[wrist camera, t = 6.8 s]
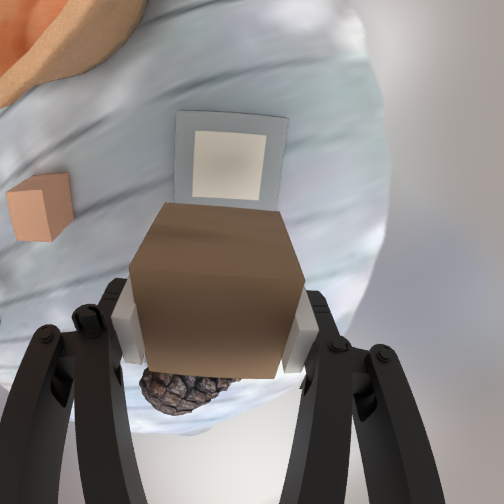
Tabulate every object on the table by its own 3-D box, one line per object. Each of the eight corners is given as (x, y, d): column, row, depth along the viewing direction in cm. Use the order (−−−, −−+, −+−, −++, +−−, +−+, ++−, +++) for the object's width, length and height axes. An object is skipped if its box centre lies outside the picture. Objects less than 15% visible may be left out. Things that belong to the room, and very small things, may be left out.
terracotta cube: (74, 218, 29) (52, 241, 24) (40, 218, 29) (16, 240, 24) (68, 172, 26) (41, 189, 21) (33, 175, 26) (5, 192, 21)
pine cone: (252, 352, 44) (258, 404, 36) (174, 384, 48) (170, 429, 39) (213, 316, 39) (212, 374, 31) (134, 356, 43) (123, 404, 34)
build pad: (272, 214, 32) (274, 218, 31) (175, 209, 30) (173, 213, 29) (286, 118, 26) (288, 119, 25) (178, 110, 25) (176, 111, 24)
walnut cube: (262, 299, 18) (274, 378, 12) (167, 293, 17) (149, 370, 12) (279, 211, 15) (305, 280, 9) (164, 202, 14) (128, 267, 9)
